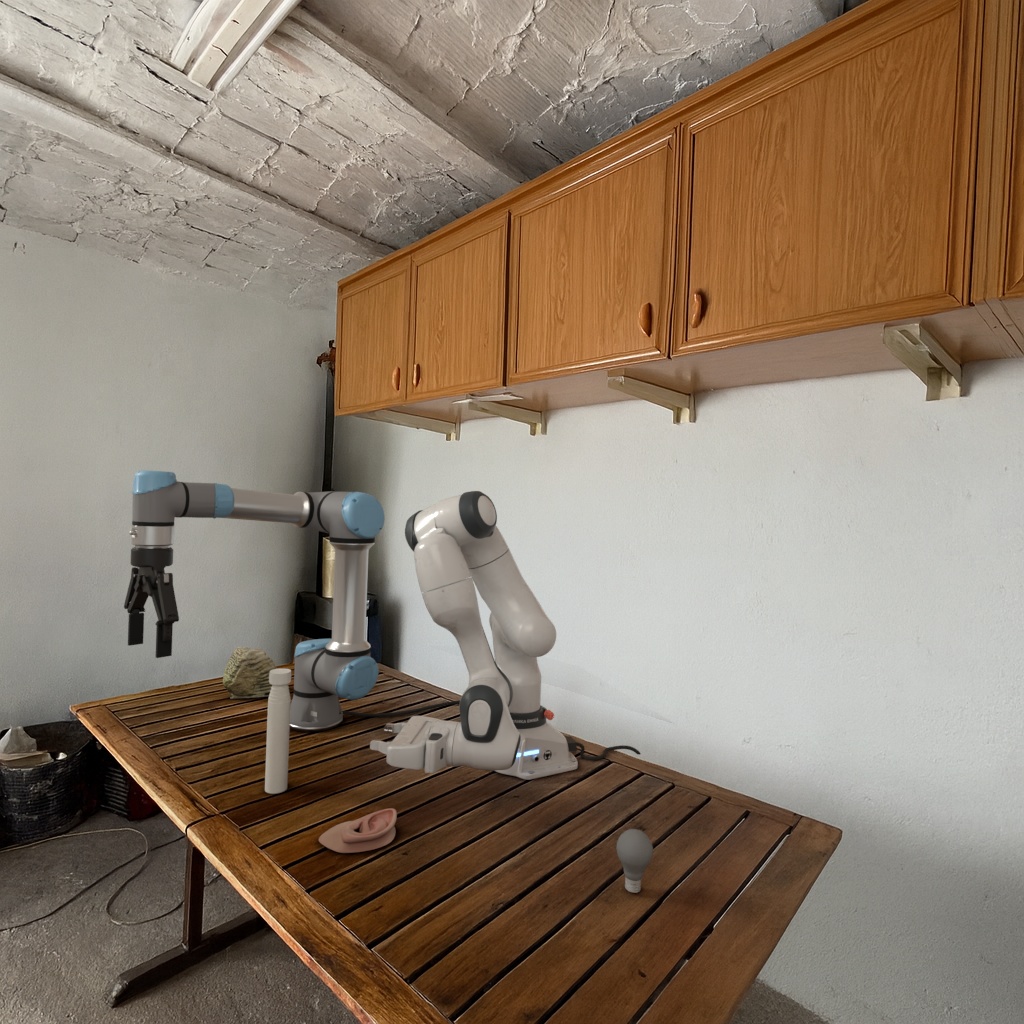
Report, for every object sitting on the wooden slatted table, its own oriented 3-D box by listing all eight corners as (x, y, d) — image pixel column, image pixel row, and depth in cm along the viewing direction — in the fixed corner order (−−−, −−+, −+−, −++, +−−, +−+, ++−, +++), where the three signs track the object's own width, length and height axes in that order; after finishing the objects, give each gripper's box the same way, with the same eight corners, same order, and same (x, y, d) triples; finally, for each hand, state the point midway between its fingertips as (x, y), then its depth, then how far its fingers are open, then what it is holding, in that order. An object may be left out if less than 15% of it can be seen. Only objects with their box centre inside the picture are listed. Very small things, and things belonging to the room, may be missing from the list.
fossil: (218, 695, 195) (220, 647, 195) (278, 685, 208) (279, 640, 207) (228, 703, 189) (230, 653, 188) (289, 692, 201) (290, 645, 201)
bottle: (291, 785, 138) (295, 671, 138) (279, 795, 134) (283, 676, 133) (273, 782, 139) (277, 669, 139) (260, 791, 135) (264, 674, 134)
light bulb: (610, 879, 108) (613, 822, 108) (644, 879, 109) (647, 822, 109) (619, 902, 102) (622, 840, 102) (655, 901, 103) (658, 840, 103)
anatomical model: (310, 826, 114) (340, 797, 125) (309, 848, 114) (339, 817, 125) (379, 837, 111) (403, 806, 122) (378, 859, 111) (403, 827, 123)
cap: (295, 680, 138) (295, 669, 138) (283, 686, 133) (283, 674, 133) (277, 678, 139) (277, 667, 139) (264, 683, 134) (264, 672, 134)
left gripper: (108, 542, 134) (105, 642, 134) (159, 552, 118) (155, 665, 118) (146, 541, 140) (143, 637, 140) (200, 551, 124) (196, 658, 124)
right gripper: (453, 712, 143) (393, 705, 144) (432, 745, 123) (363, 737, 124) (451, 739, 143) (391, 733, 144) (430, 777, 123) (361, 769, 124)
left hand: (149, 650), depth 129 cm, fingers open, 13 cm apart
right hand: (378, 735), depth 134 cm, fingers open, 8 cm apart
